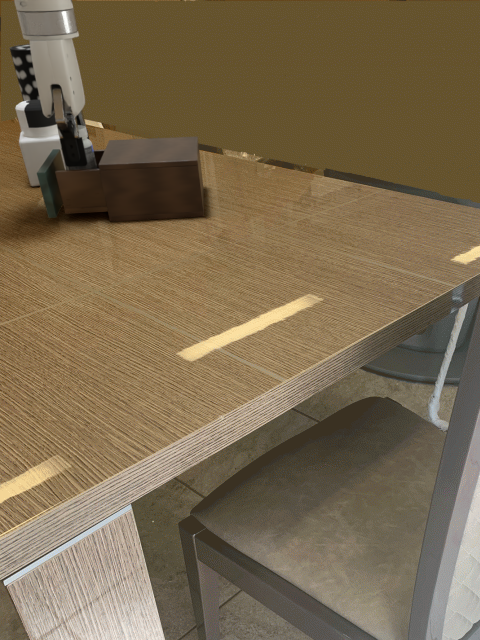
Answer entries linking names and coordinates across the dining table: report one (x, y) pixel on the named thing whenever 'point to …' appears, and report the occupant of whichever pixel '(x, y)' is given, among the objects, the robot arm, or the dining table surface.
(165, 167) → the cabinet
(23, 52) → the spotted tube
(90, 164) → the pill bottle
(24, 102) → the container
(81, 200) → the drawer
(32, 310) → the dining table surface
